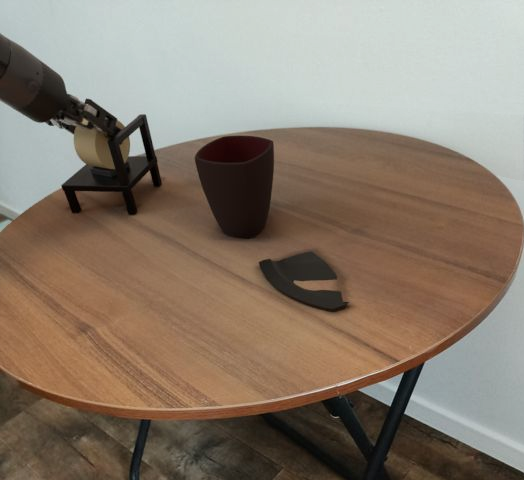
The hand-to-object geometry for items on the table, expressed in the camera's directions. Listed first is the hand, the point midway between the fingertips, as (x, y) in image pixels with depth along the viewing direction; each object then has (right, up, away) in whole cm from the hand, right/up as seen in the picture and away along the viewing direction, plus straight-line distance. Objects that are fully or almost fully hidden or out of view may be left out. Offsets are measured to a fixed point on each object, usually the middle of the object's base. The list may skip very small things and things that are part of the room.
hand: (102, 136), depth 86 cm
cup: (+25, -16, -6) cm, 30 cm away
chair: (+1, -9, +5) cm, 10 cm away
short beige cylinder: (+1, -5, +2) cm, 5 cm away
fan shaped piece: (+31, -27, -20) cm, 46 cm away
